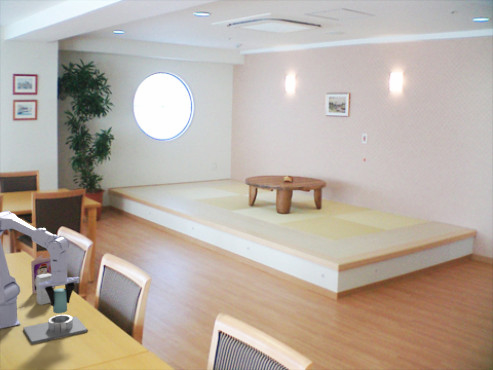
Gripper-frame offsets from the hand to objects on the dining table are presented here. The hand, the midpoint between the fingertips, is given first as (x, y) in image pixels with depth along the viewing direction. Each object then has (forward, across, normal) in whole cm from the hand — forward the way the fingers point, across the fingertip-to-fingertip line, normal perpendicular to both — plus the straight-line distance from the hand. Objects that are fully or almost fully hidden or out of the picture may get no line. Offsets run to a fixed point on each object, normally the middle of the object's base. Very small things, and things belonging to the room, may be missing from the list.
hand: (60, 303), depth 199 cm
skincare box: (+11, +2, +31) cm, 33 cm away
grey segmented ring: (+9, 0, 0) cm, 9 cm away
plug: (+3, 0, 0) cm, 3 cm away
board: (+10, -2, 0) cm, 11 cm away
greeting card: (+11, +4, +48) cm, 49 cm away
